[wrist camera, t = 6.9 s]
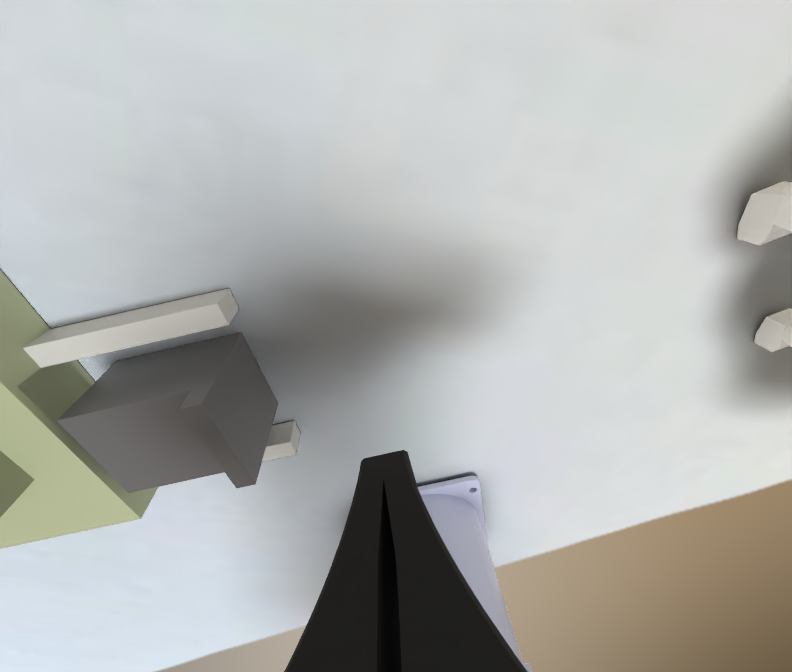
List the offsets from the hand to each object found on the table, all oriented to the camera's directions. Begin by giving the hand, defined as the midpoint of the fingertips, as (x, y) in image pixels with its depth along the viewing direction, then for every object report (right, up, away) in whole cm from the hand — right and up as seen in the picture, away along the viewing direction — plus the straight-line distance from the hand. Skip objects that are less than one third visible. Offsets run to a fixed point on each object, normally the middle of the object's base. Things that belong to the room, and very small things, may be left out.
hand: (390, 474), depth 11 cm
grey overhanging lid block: (-9, +2, +7) cm, 12 cm away
